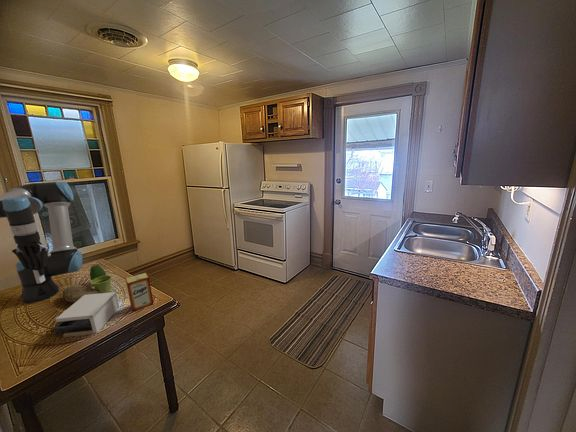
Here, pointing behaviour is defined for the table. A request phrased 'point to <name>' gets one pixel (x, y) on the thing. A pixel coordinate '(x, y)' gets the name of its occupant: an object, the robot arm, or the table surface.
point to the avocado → (96, 272)
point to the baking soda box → (139, 291)
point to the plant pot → (102, 284)
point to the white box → (91, 311)
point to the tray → (73, 326)
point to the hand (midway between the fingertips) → (41, 281)
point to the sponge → (77, 292)
